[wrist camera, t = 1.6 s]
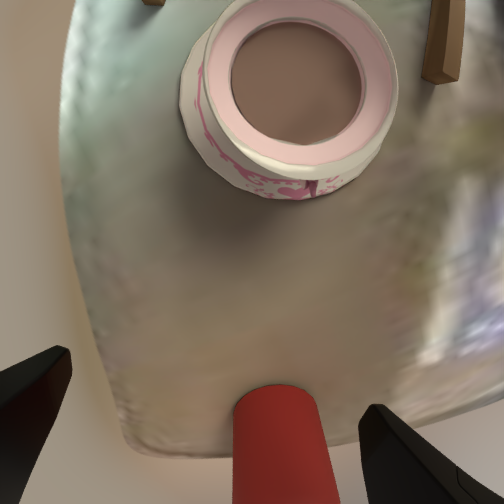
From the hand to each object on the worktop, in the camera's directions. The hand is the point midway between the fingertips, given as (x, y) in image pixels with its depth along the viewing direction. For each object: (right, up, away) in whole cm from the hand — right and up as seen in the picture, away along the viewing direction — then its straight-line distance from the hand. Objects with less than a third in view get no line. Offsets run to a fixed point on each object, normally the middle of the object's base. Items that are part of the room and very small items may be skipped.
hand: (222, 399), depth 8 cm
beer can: (+3, -8, +16) cm, 18 cm away
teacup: (+3, +13, +8) cm, 16 cm away
